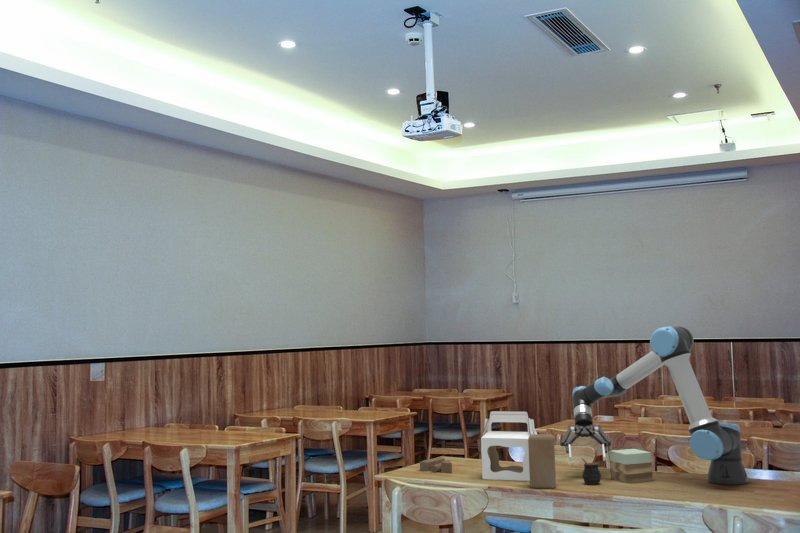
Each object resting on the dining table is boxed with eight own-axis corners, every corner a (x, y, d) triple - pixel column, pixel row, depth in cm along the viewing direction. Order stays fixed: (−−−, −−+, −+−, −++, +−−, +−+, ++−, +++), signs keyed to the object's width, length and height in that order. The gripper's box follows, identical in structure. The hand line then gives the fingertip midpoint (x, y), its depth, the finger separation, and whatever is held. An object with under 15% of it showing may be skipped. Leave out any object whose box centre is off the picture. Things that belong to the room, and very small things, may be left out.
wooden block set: (418, 459, 374) (439, 454, 388) (418, 472, 373) (439, 466, 388) (450, 461, 364) (470, 456, 379) (450, 474, 364) (470, 468, 378)
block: (555, 488, 322) (553, 437, 323) (529, 488, 324) (527, 437, 325) (556, 484, 331) (553, 434, 333) (531, 483, 333) (529, 434, 335)
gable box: (481, 479, 348) (479, 412, 350) (490, 474, 360) (488, 409, 362) (533, 481, 339) (530, 413, 342) (540, 476, 351) (537, 410, 354)
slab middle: (652, 472, 333) (651, 462, 334) (627, 474, 330) (626, 464, 330) (634, 467, 345) (634, 458, 345) (610, 470, 341) (609, 460, 341)
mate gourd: (598, 485, 325) (597, 460, 326) (579, 484, 329) (578, 459, 330) (603, 482, 332) (602, 457, 333) (585, 481, 335) (583, 456, 336)
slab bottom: (652, 482, 333) (652, 472, 333) (627, 484, 329) (626, 474, 330) (636, 477, 344) (635, 467, 345) (610, 479, 341) (610, 470, 341)
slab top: (651, 462, 333) (651, 452, 334) (626, 464, 330) (625, 454, 330) (634, 458, 345) (633, 448, 345) (609, 460, 341) (609, 450, 341)
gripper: (612, 423, 352) (618, 464, 336) (553, 423, 356) (556, 464, 340) (613, 412, 347) (619, 453, 331) (553, 412, 351) (556, 453, 335)
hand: (587, 459), depth 336 cm, fingers open, 13 cm apart
